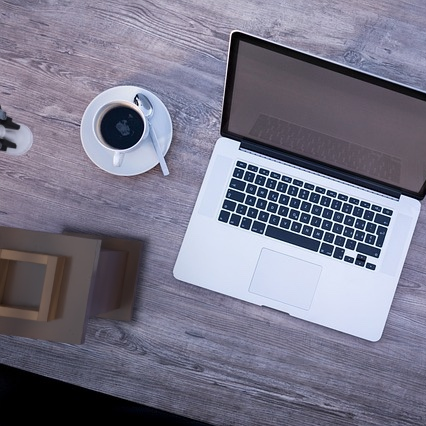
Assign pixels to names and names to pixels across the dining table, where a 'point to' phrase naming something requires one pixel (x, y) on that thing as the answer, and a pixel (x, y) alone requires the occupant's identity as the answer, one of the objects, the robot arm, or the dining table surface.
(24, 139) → the chess piece
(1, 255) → the socket stand
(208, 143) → the dining table surface
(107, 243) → the stand base
